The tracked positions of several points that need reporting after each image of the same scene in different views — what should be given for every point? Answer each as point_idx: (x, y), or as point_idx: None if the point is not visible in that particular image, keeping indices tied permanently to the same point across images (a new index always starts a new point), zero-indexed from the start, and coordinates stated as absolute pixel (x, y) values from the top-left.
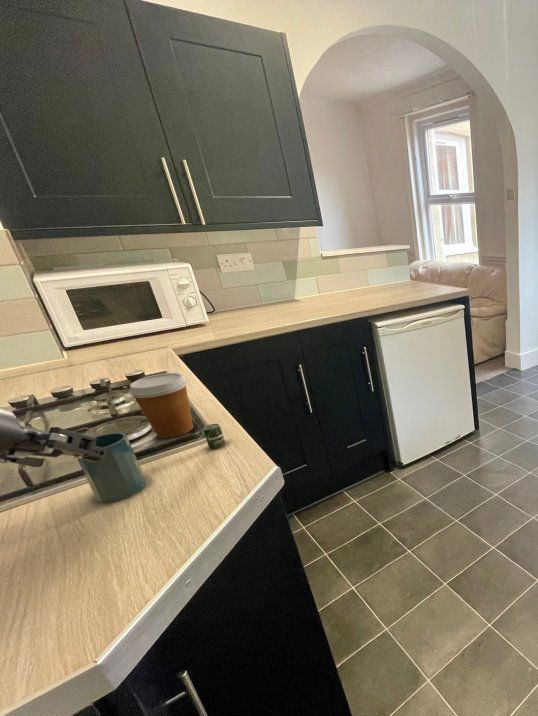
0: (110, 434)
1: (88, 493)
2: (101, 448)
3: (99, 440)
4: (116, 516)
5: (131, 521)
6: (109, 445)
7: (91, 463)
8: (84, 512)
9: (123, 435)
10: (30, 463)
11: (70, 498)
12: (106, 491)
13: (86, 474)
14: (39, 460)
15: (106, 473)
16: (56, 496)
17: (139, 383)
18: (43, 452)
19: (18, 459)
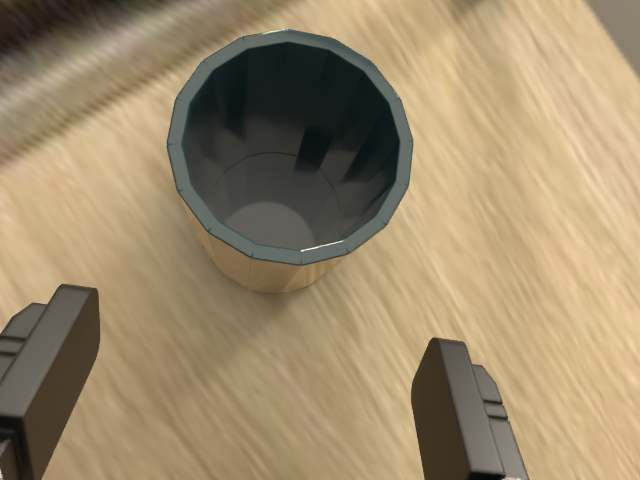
0: (287, 44)
1: (147, 198)
2: (469, 367)
3: (233, 71)
4: (349, 398)
5: None
6: (378, 210)
7: (284, 272)
8: (212, 338)
9: (382, 92)
10: (73, 398)
11: (95, 217)
12: (281, 289)
13: (228, 263)
14: (90, 342)
15: (316, 275)
16: (26, 184)
17: None
18: (87, 293)
19: (37, 464)
